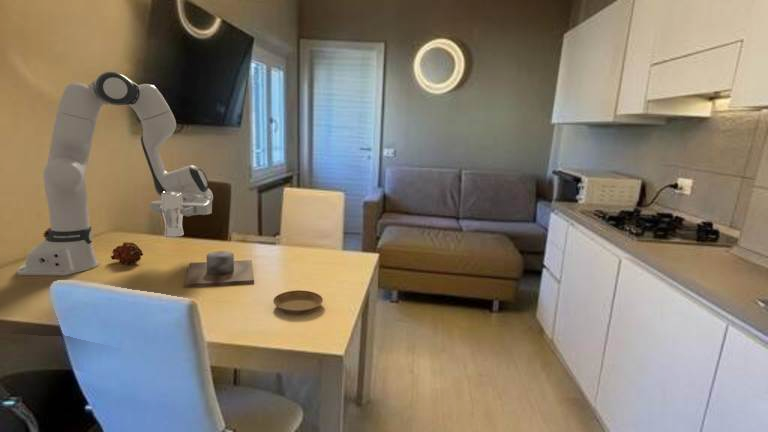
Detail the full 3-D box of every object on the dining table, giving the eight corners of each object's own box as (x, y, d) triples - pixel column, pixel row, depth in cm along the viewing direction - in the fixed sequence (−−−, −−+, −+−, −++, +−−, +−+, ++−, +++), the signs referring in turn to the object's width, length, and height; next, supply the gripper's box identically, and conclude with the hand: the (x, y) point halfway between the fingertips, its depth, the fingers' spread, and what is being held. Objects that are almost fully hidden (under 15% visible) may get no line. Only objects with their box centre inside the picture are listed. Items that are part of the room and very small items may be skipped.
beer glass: (189, 233, 155) (187, 191, 152) (178, 238, 148) (175, 195, 145) (170, 231, 156) (168, 190, 152) (158, 236, 149) (156, 193, 146)
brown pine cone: (140, 270, 158) (115, 270, 162) (153, 252, 164) (128, 252, 168) (125, 255, 152) (99, 255, 156) (139, 237, 158) (114, 237, 162)
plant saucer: (332, 308, 132) (332, 300, 132) (293, 323, 121) (293, 314, 121) (302, 294, 142) (302, 286, 141) (263, 306, 131) (263, 298, 130)
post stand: (183, 287, 141) (182, 266, 139) (189, 265, 161) (189, 247, 160) (254, 283, 148) (253, 263, 146) (251, 263, 168) (251, 245, 167)
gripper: (160, 194, 162) (140, 201, 148) (215, 197, 162) (200, 204, 149) (161, 210, 163) (141, 218, 150) (215, 213, 164) (201, 221, 150)
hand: (171, 211), depth 149 cm, fingers closed on beer glass, 6 cm apart
